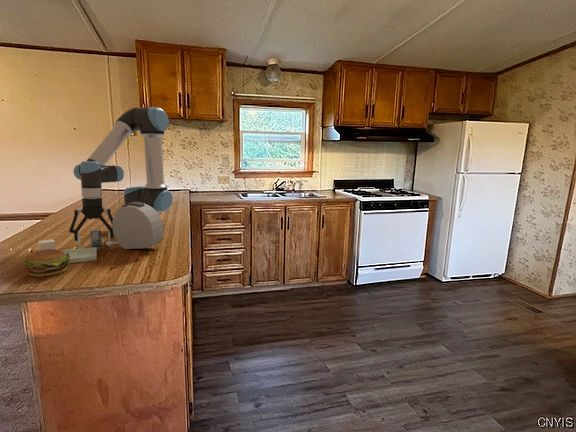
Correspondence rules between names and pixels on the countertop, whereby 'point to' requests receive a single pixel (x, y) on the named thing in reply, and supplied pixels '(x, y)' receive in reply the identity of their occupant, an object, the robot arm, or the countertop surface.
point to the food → (47, 263)
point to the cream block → (47, 244)
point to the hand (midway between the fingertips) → (94, 246)
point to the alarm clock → (137, 226)
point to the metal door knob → (96, 239)
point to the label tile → (113, 243)
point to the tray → (81, 254)
